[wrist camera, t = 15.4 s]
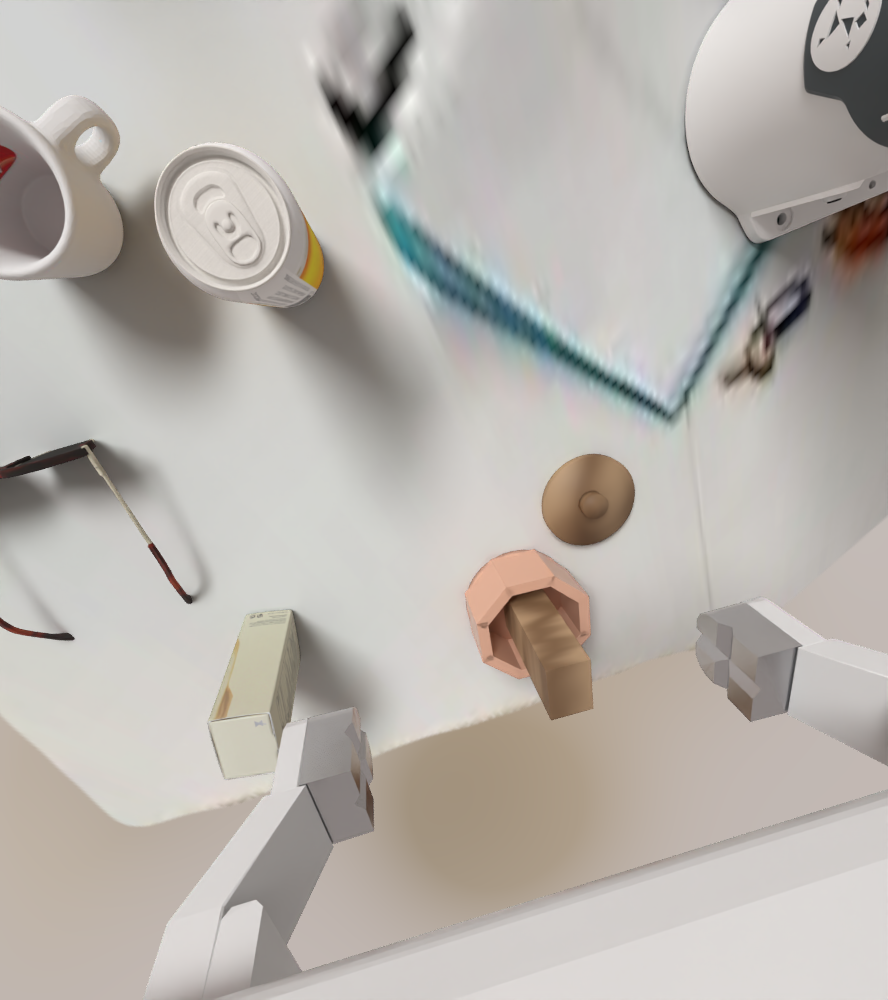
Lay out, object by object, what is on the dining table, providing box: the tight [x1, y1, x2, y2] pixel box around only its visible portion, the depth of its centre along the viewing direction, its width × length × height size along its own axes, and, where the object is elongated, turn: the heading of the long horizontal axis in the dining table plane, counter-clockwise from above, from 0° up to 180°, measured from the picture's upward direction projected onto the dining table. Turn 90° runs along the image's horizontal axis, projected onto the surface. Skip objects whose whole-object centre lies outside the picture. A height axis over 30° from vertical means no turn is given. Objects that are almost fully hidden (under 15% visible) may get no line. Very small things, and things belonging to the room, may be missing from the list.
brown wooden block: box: [503, 589, 593, 720], centre depth 41 cm, size 4×5×12 cm
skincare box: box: [208, 610, 300, 780], centre depth 38 cm, size 6×4×12 cm
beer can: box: [154, 142, 324, 308], centre depth 26 cm, size 6×6×15 cm
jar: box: [465, 549, 591, 679], centre depth 44 cm, size 11×11×6 cm
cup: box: [0, 95, 123, 281], centre depth 26 cm, size 11×8×8 cm
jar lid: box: [542, 454, 635, 545], centre depth 43 cm, size 9×9×2 cm
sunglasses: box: [0, 439, 192, 640], centre depth 36 cm, size 14×16×5 cm
